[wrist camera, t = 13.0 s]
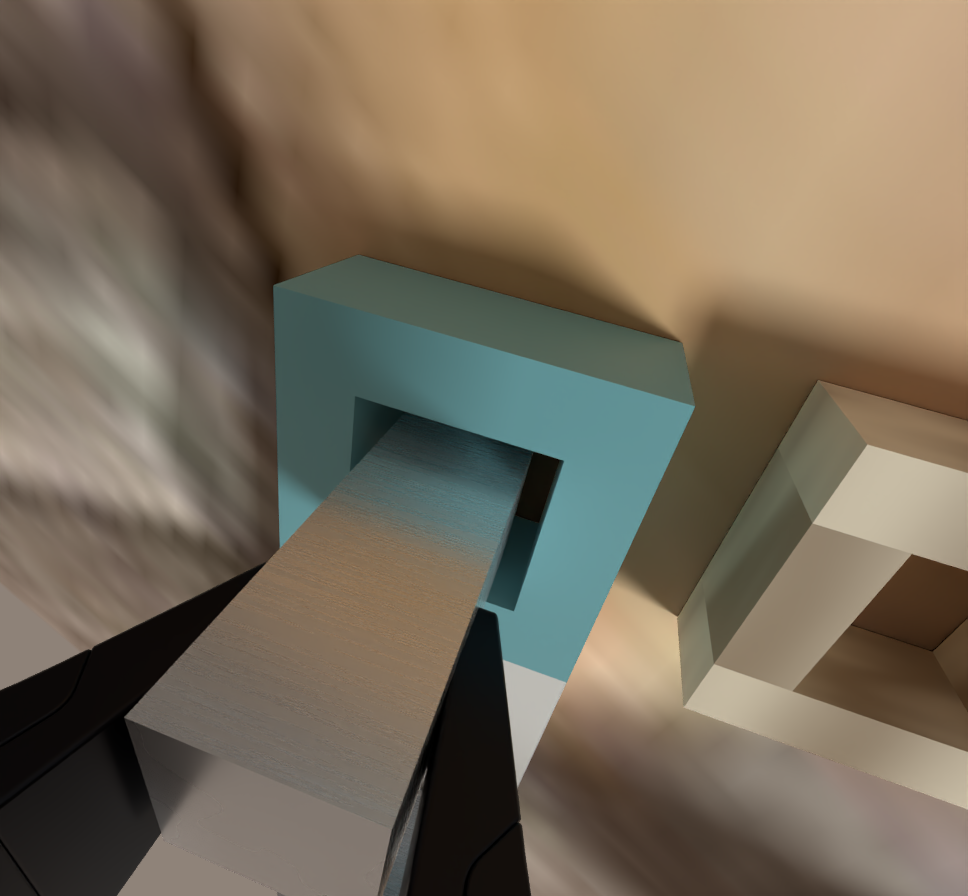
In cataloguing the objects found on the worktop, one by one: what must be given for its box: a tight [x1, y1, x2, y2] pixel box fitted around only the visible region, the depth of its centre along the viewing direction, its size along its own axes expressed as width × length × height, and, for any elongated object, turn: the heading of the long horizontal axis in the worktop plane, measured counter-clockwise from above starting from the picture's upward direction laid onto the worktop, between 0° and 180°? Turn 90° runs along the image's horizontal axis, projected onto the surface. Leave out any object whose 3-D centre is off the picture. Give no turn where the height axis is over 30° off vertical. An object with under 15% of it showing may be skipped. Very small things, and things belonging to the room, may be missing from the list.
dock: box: [273, 255, 695, 789], centre depth 17 cm, size 8×22×4 cm, turn 169°
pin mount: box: [677, 380, 968, 809], centre depth 12 cm, size 8×8×3 cm
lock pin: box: [124, 412, 534, 896], centre depth 9 cm, size 3×3×8 cm
